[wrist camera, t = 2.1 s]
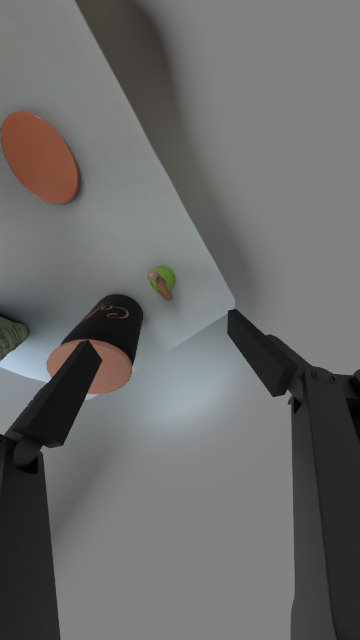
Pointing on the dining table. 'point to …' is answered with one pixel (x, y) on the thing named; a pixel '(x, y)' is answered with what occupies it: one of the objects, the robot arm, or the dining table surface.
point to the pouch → (11, 336)
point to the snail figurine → (162, 281)
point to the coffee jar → (106, 341)
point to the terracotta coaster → (40, 158)
